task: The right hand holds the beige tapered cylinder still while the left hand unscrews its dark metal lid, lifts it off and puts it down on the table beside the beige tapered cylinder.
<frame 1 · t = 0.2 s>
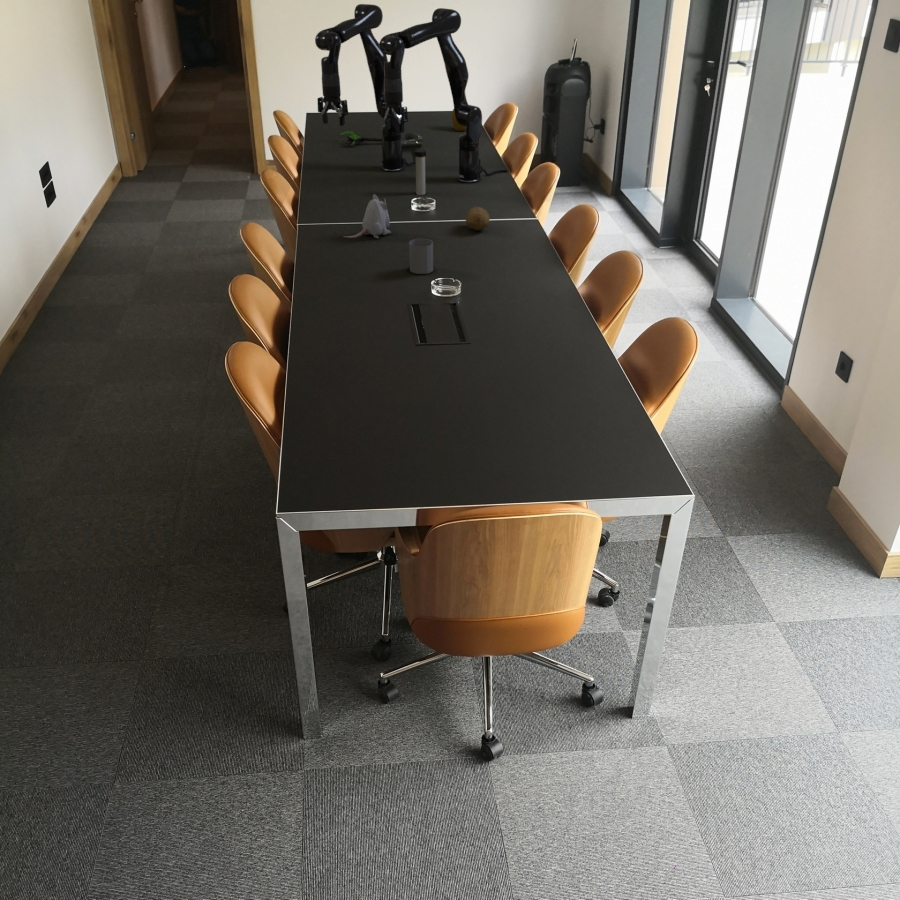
left hand: (333, 124, 373), 29 cm above the table, tool pointing down, fingers open, 8 cm apart
right hand: (394, 130, 363), 29 cm above the table, tool pointing down, fingers open, 8 cm apart
cup: (421, 270, 308), on the table
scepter: (366, 144, 463), on the table
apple: (461, 130, 491), on the table
lid: (420, 151, 377), point 18 cm above the table, screwed on, not yet turned
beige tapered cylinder: (420, 193, 387), on the table
toy: (366, 238, 336), on the table
potato: (477, 229, 346), on the table
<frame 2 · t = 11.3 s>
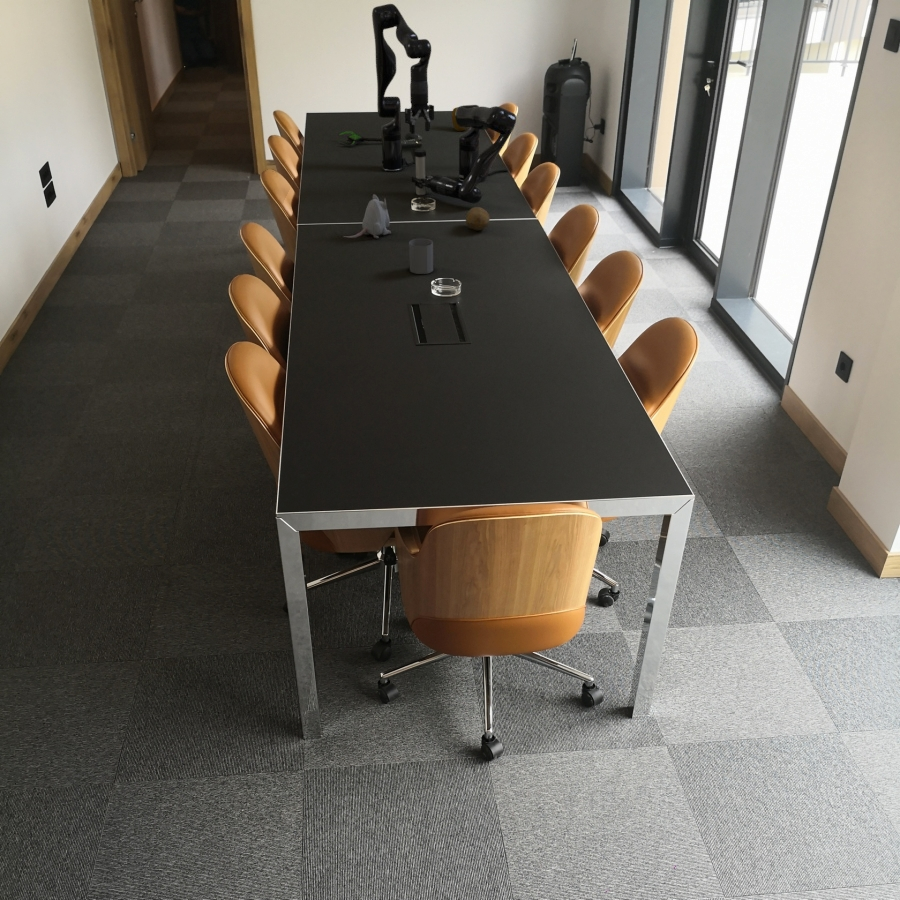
left hand: (419, 132, 373), 26 cm above the table, tool pointing down, fingers open, 7 cm apart
right hand: (416, 178, 386), 6 cm above the table, tool horizontal, fingers closed on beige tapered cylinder, 4 cm apart
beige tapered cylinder: (420, 193, 387), on the table, touching right hand
everything else where it was.
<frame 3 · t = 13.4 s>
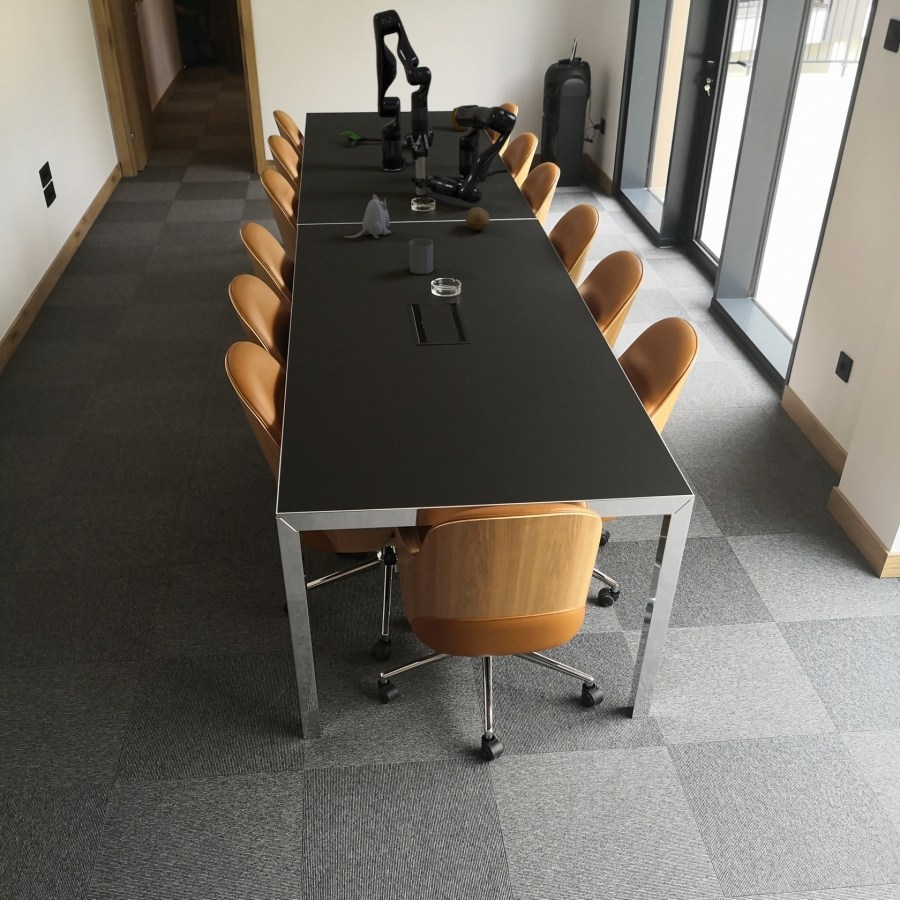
left hand: (420, 158, 379), 15 cm above the table, tool pointing down, fingers closed on lid, 5 cm apart
right hand: (416, 178, 386), 6 cm above the table, tool horizontal, fingers closed on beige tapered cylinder, 4 cm apart
lid: (420, 151, 377), point 18 cm above the table, screwed on, not yet turned, touching left hand
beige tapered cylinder: (420, 193, 387), on the table, touching right hand
everything else where it was.
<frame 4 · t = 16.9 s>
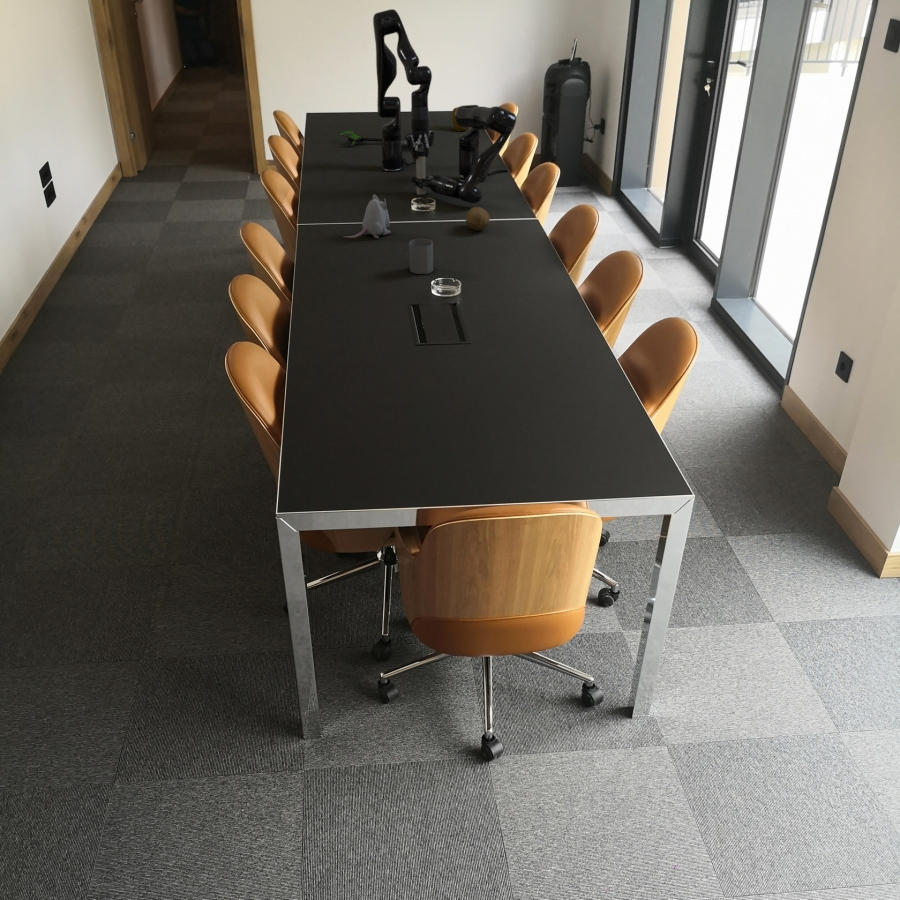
left hand: (420, 157, 379), 16 cm above the table, tool pointing down, fingers closed on lid, 5 cm apart
right hand: (417, 178, 386), 6 cm above the table, tool horizontal, fingers closed on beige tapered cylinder, 4 cm apart
lid: (420, 151, 377), point 18 cm above the table, turned 73° so far, risen 0.2 cm, still on its thread, touching left hand
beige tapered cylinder: (421, 193, 387), on the table, touching right hand
everything else where it was.
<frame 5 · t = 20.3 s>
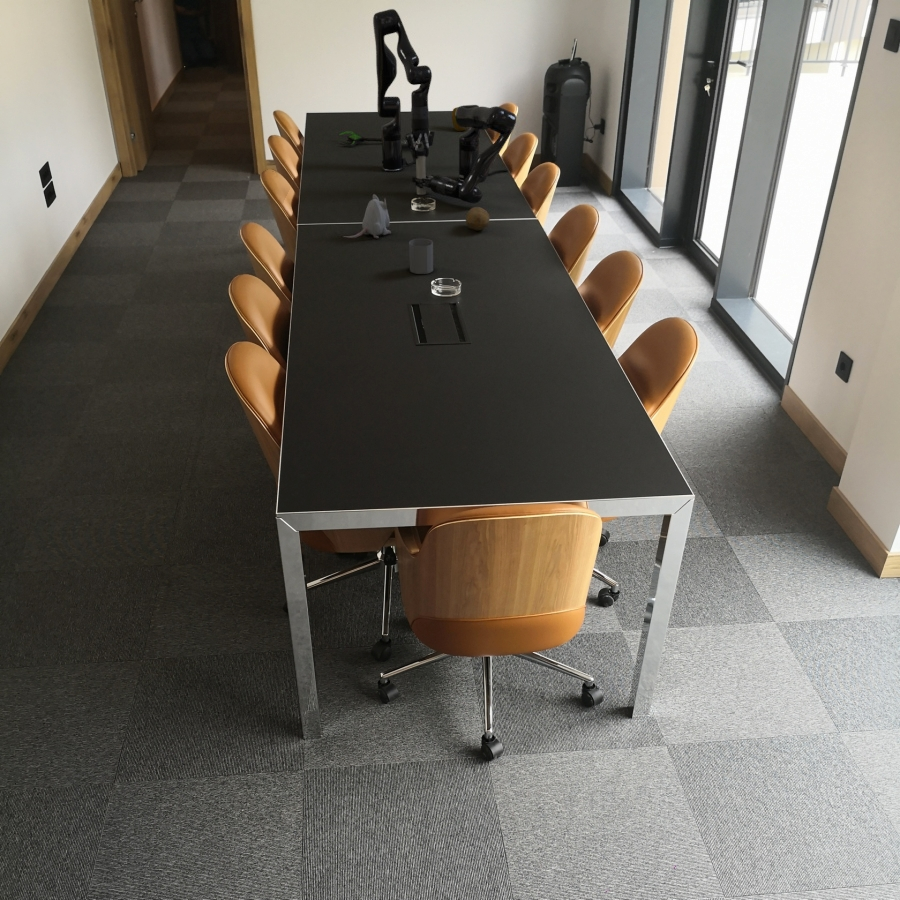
left hand: (420, 157, 379), 16 cm above the table, tool pointing down, fingers closed on lid, 5 cm apart
right hand: (417, 178, 386), 6 cm above the table, tool horizontal, fingers closed on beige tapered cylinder, 4 cm apart
lid: (420, 150, 377), point 19 cm above the table, turned 146° so far, risen 0.3 cm, still on its thread, touching left hand
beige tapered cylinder: (421, 193, 388), on the table, touching right hand
everything else where it was.
when the left hand's fingers open (0 cm above the table, at t = 27.0 s): lid drops 1 cm, point 2 cm above the table.
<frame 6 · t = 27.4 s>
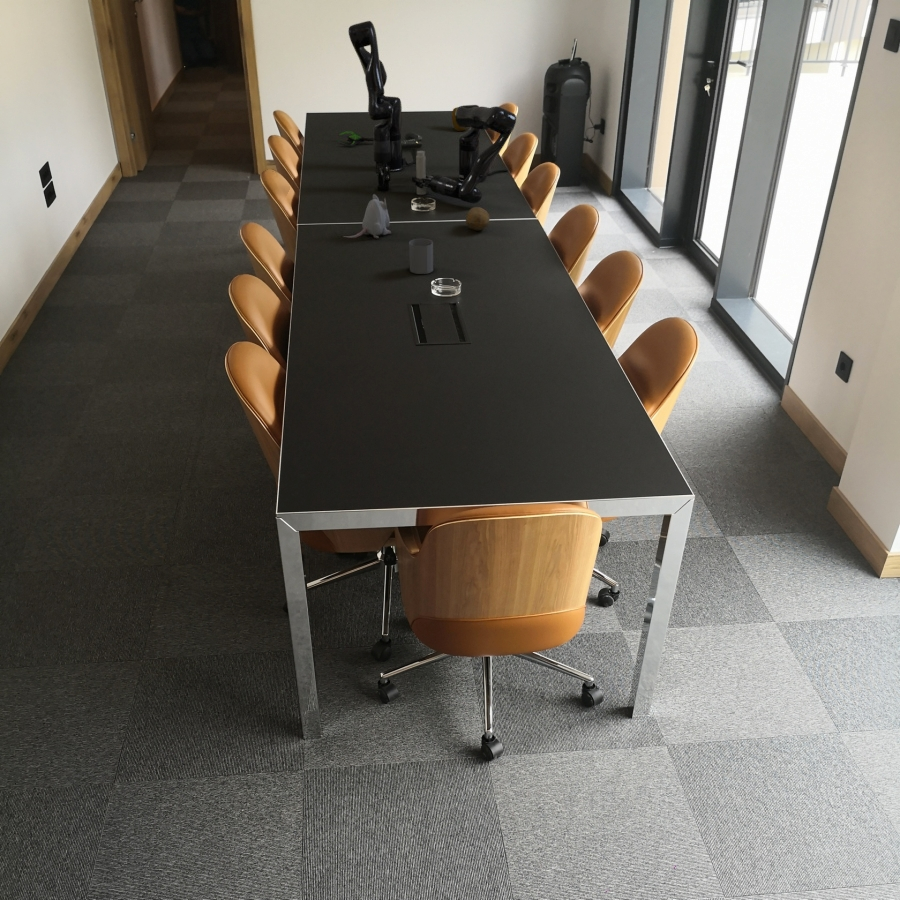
left hand: (383, 187, 392), 1 cm above the table, tool pointing down, fingers open, 8 cm apart
right hand: (416, 178, 386), 6 cm above the table, tool horizontal, fingers closed on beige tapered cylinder, 4 cm apart
lid: (383, 185, 392), point 2 cm above the table, off its thread
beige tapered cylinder: (421, 193, 388), on the table, touching right hand
everything else where it was.
when the right hand's fingers open (6 cm above the table, at t = 28.1 s): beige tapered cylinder stays where it is, on the table.
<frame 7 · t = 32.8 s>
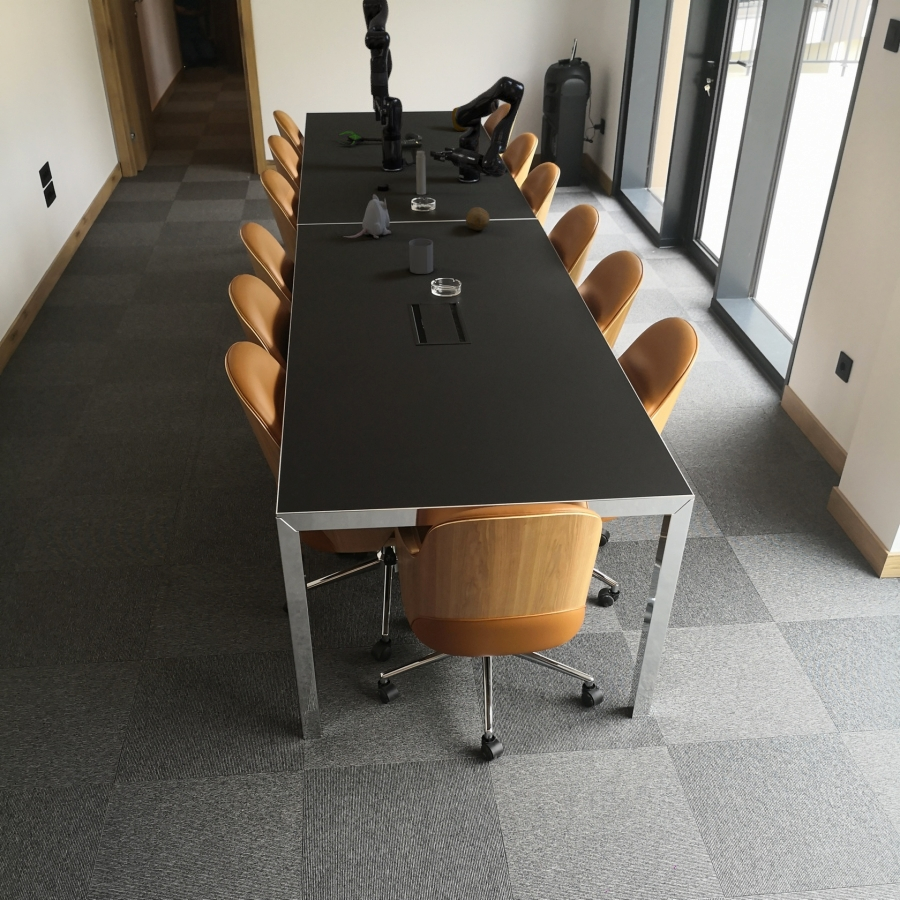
left hand: (380, 122, 377), 29 cm above the table, tool pointing down, fingers open, 8 cm apart
right hand: (438, 151, 370), 20 cm above the table, tool horizontal, fingers open, 8 cm apart
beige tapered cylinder: (421, 193, 388), on the table
everything else where it was.
at the end: lid came off its thread; lid point 1.7 cm above the table; the left hand is holding nothing; the right hand is holding nothing; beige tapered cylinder tilted 0°; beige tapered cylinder moved 0.3 cm from its start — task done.
